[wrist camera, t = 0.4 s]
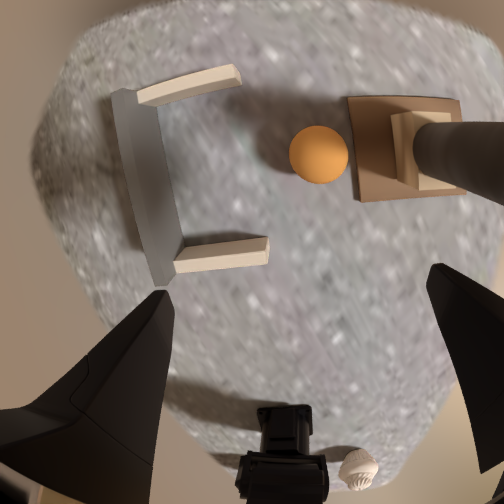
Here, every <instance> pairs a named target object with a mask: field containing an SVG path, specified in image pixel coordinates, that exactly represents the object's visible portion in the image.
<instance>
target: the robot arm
mask: <svg viewBox="0 0 504 504" xmlns="http://www.w3.org/2000/svg"><path fill="white" fill-rule="evenodd" d="M426 288H427V292H428V295H429V298H430V301H431V304H432V307H433V310H434V313H435V316H436V320H437V323H438V326H439V328H440V331H441V333H442V336H443V338H444V341H445V344H446V346H447V349H448V352H449V354H450V357H451V360H452V363H453V366H454V368H455V371H456V374H457V378H458V381H459V384H460V387H461V390H462V394H463V396H464V400H465V404H466V408H467V411H468V415H469V419H470V423H471V428H472V432H473V437H474V441H475V446H476V451H477V456H478V462H479V469H480V473H481V474H482V473H484V472H486V471H488V470H489V469H491V468H493V467H494V466H496V465H498V464H499V463H501V462H503V461H504V299H503V298H502V297H500V296H498V295H497V294H495V293H494V292H492V291H490V290H489V289H487V288H486V287H484V286H482V285H480V284H479V283H477V282H475V281H474V280H472V279H470V278H469V277H467V276H465V275H463V274H462V273H460V272H458V271H456V270H454V269H453V268H451V267H449V266H447V265H445V264H444V263H437V264H433V265H432V266H431V269H430V272H429V275H428V279H427V282H426ZM174 316H175V311H174V307H173V304H172V301H171V299H170V296H169V293H168V292H167V291H166V290H155V291H153V292H152V293H151V294H150V295H149V296H148V297H147V298H146V299H145V300H144V301H142V302H141V303H140V304H139V305H138V306H137V307H136V308H135V309H134V310H133V311H132V312H131V313H129V314H128V315H127V316H126V317H125V318H124V319H123V320H122V321H121V322H120V323H119V324H118V325H117V326H116V327H115V328H113V329H112V330H111V331H110V332H109V333H108V334H107V335H106V336H105V337H104V338H103V339H102V340H101V341H100V342H99V343H98V344H97V345H96V346H95V347H94V348H92V349H91V351H89V353H88V354H87V355H85V356H84V357H83V358H82V359H81V360H80V361H79V362H78V363H77V364H76V365H75V366H74V367H73V368H72V369H71V370H70V371H68V372H67V373H66V374H65V375H64V376H63V377H62V378H60V379H59V380H58V381H57V382H56V383H54V384H53V385H52V386H51V387H50V388H49V389H47V390H46V391H45V392H44V393H43V394H42V395H40V396H39V397H38V398H37V399H36V400H34V401H33V402H32V403H30V404H28V405H26V406H23V407H20V408H13V409H3V410H0V504H149V497H150V487H151V478H152V470H153V467H152V466H153V461H154V454H155V446H156V440H157V433H158V426H159V420H160V414H161V408H162V402H163V396H164V390H165V385H166V379H167V374H168V369H169V363H170V358H171V351H172V339H173V327H174ZM257 416H258V420H259V423H260V427H261V430H262V436H261V444H260V452H252V451H249V450H248V452H247V455H245V456H241V459H240V465H239V469H238V473H237V477H236V481H235V486H236V487H237V488H238V490H239V493H240V499H247V503H246V504H323V502H325V501H326V499H327V496H328V492H329V476H328V470H327V465H326V459H325V455H309V436H310V435H312V434H313V427H312V408H311V406H299V407H283V408H259V409H257ZM485 504H504V471H503V474H502V476H501V479H500V481H499V484H498V486H497V488H496V491H495V493H494V495H493V497H492V500H490V501H489V502H487V503H485Z"/></svg>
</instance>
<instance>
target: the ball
mask: <svg viewBox="0 0 504 504" xmlns="http://www.w3.org/2000/svg"><path fill="white" fill-rule="evenodd" d="M289 159H290V163H291V165H292V167H293V169H294V171H295V172H296V173H297V174H298V175H299V176H300V177H301V178H303V179H304V180H306V181H308V182H311V183H315V184H324V183H328V182H331V181H333V180H335V179H337V178H338V177H339V176H340V175H341V174H342V173H343V171H344V170H345V168H346V165H347V162H348V150H347V146H346V144H345V142H344V140H343V139H342V137H341V136H340V135H339V134H338V133H337V132H335V131H334V130H332V129H330V128H328V127H324V126H310V127H307V128H305V129H303V130H301V131H300V132H299V133H297V135H296V136H295V137H294V138H293V140H292V142H291V145H290V148H289Z"/></svg>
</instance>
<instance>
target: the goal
mask: <svg viewBox="0 0 504 504" xmlns="http://www.w3.org/2000/svg"><path fill="white" fill-rule="evenodd" d="M241 85H242V82H241V77H240V73H239V72H238V70H237V69H236V67H235V66H234V65H233V64H229V65H225V66H220V67H216V68H212V69H208V70H204V71H200V72H196V73H192V74H189V75H185V76H182V77H178V78H175V79H172V80H168V81H165V82H162V83H159V84H156V85H153V86H150V87H147V88H145V89H142V90H139V91H133V90H129V89H125V88H122V89H119V90H117V91H114V92H112V93H110V94H111V101H112V108H113V115H114V121H115V127H116V133H117V139H118V145H119V150H120V155H121V160H122V165H123V170H124V174H125V179H126V183H127V188H128V192H129V196H130V200H131V205H132V209H133V213H134V216H135V220H136V224H137V228H138V231H139V235H140V239H141V242H142V246H143V249H144V253H145V256H146V259H147V263H148V266H149V269H150V272H151V275H152V279H153V282H154V285H155V286H167V285H168V284H169V282H170V281H171V280H172V278H173V277H174V276H175V275H176V273H185V272H195V271H204V270H214V269H224V268H234V267H243V266H252V265H262V264H267V263H268V257H269V251H270V246H269V240H268V237H262V238H254V239H246V240H238V241H230V242H222V243H214V244H206V245H199V246H191V247H185V243H184V239H183V235H182V231H181V227H180V222H179V218H178V214H177V210H176V205H175V201H174V196H173V192H172V187H171V183H170V178H169V173H168V168H167V163H166V158H165V153H164V148H163V143H162V137H161V132H160V126H159V121H158V115H157V109H156V107H158V106H161V105H164V104H168V103H171V102H174V101H178V100H181V99H185V98H189V97H192V96H196V95H200V94H204V93H208V92H213V91H217V90H222V89H226V88H231V87H236V86H241Z"/></svg>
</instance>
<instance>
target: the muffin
mask: <svg viewBox="0 0 504 504" xmlns="http://www.w3.org/2000/svg"><path fill="white" fill-rule="evenodd" d="M377 471H378V464H377V462H375V459H374V458H373V457H372V456H371V455H370V454H369V453H368V452H367V451H366V450H364V449H357V450H353V451H351V452H349V453H348V454H347V455H346V457H345V459H344V461H343V463H342V465H341V467H340V470H339V474H338V476H339V478H340V479H341V480H343V481H344V482H345V483H346V484H348V488H349V489H351V490H354V491H357V490H362V489H365V488H367V487H368V486H370V484H371V482H372V478H373V477H374V475H375V474H376V473H377Z"/></svg>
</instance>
